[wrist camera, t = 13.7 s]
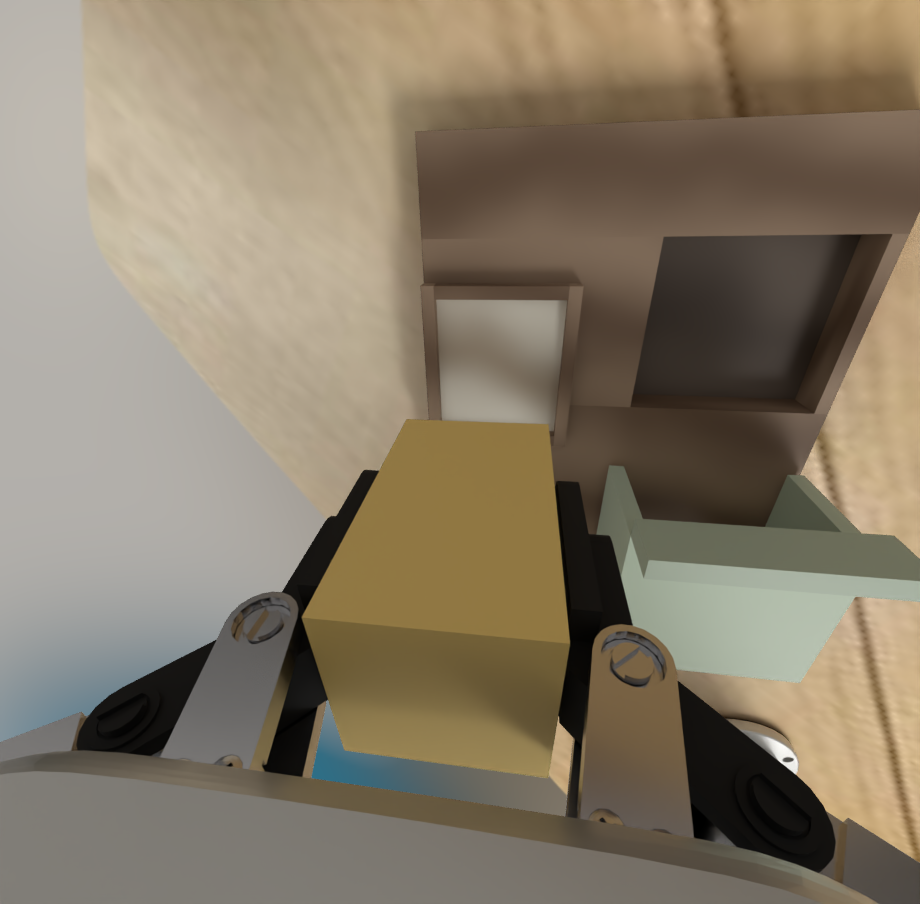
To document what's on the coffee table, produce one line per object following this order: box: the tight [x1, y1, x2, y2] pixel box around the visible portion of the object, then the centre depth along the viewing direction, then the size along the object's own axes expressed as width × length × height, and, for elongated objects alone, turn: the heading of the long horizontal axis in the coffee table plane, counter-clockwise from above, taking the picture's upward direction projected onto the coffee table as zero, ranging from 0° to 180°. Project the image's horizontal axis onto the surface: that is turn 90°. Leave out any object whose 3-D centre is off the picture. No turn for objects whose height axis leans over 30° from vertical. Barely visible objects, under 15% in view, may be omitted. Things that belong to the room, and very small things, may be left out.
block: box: [302, 419, 570, 778], centre depth 10 cm, size 4×4×7 cm
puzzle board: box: [415, 110, 920, 534], centre depth 23 cm, size 26×20×3 cm
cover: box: [596, 465, 920, 683], centre depth 22 cm, size 10×10×8 cm
